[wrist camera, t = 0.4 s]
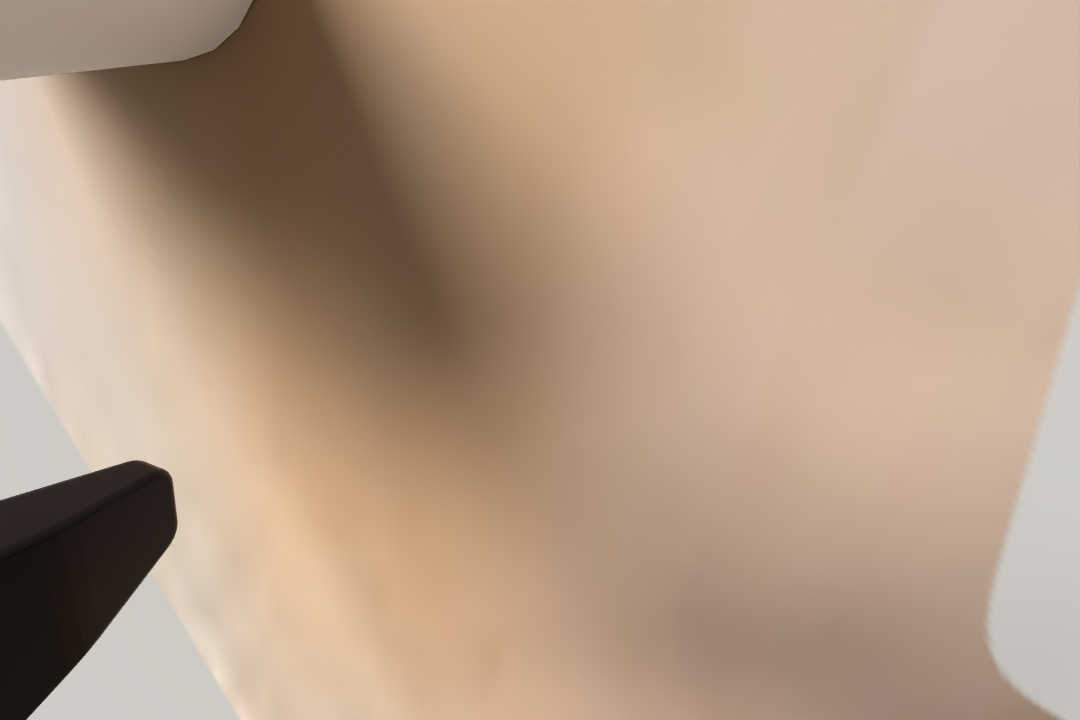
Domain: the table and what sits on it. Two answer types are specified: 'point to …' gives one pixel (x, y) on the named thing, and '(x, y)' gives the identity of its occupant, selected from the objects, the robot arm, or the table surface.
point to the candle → (109, 33)
